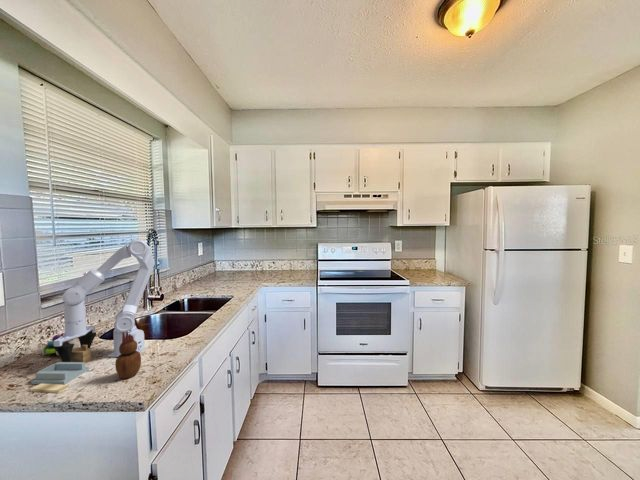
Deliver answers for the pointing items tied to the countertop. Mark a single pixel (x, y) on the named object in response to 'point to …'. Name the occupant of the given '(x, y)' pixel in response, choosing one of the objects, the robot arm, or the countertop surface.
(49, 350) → the rainbow segmented toy
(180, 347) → the countertop surface
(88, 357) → the tan pegged block
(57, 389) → the plank
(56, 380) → the jig
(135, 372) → the wooden figurine
